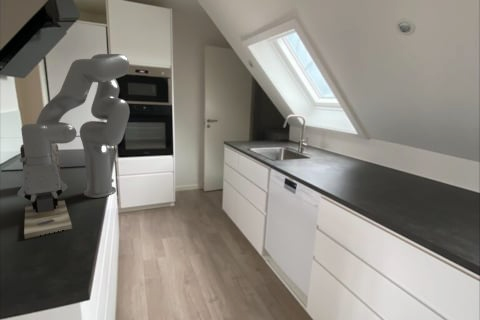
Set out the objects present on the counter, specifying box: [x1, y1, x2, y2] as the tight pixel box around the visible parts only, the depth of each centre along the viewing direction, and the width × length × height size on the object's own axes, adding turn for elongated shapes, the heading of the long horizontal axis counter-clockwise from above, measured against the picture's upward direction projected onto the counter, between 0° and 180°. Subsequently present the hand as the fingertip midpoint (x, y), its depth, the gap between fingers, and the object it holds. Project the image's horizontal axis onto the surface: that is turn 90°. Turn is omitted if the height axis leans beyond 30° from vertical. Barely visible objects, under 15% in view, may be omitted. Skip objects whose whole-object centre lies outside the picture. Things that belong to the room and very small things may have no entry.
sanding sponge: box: [36, 192, 54, 215], centre depth 95 cm, size 8×4×5 cm, turn 37°
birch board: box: [23, 199, 73, 240], centre depth 92 cm, size 24×12×2 cm, turn 38°
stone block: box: [19, 144, 61, 178], centre depth 119 cm, size 13×7×20 cm, turn 101°
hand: (46, 208), depth 95 cm, fingers closed on sanding sponge, 4 cm apart
